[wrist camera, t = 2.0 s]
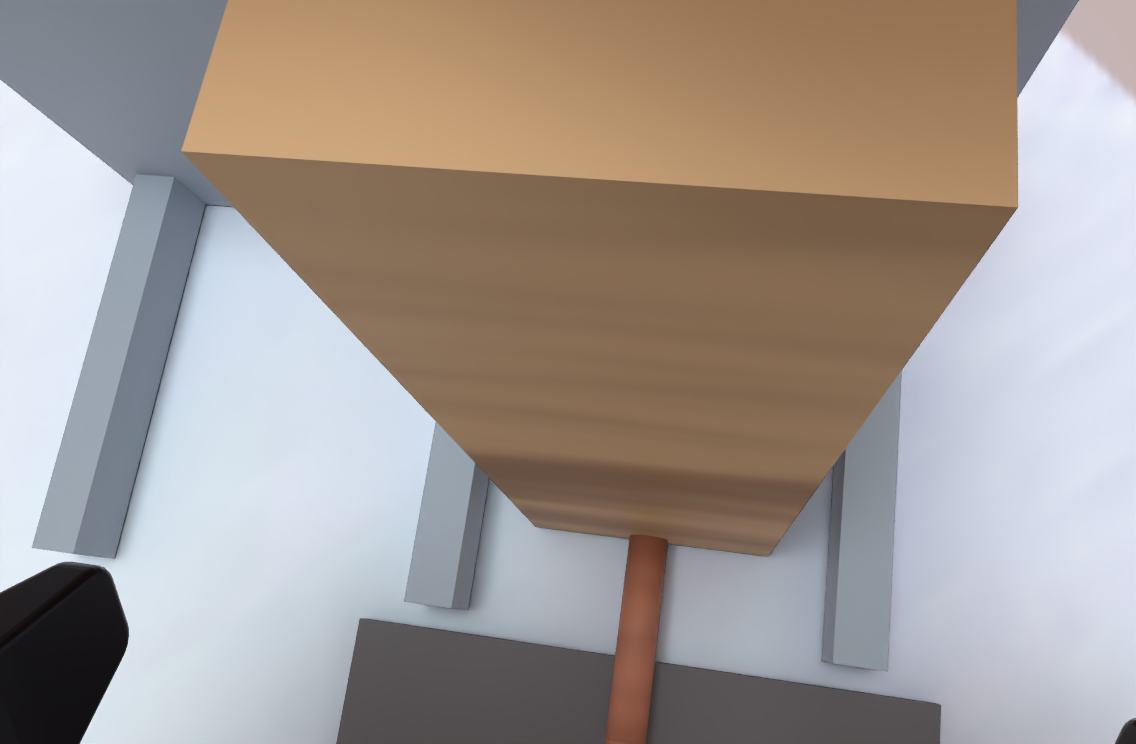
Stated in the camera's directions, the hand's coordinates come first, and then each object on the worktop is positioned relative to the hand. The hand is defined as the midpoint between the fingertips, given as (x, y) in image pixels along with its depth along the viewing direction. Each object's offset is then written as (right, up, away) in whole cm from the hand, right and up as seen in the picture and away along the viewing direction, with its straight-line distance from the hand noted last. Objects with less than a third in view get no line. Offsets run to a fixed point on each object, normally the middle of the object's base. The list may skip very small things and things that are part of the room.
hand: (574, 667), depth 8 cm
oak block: (+2, -1, +12) cm, 12 cm away
